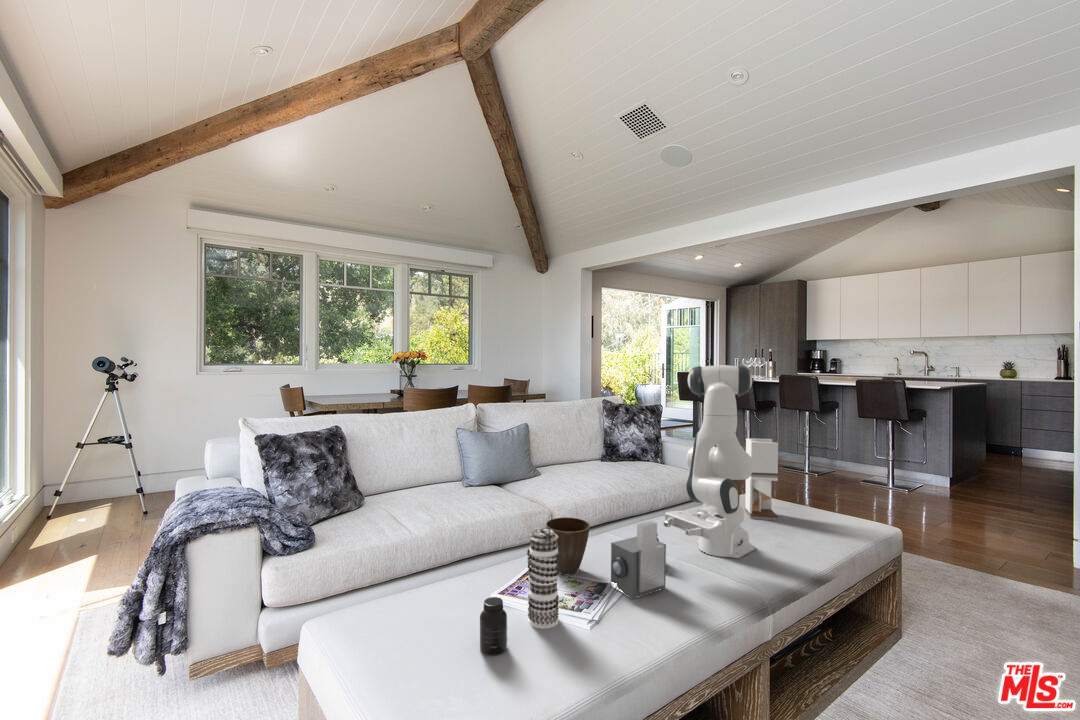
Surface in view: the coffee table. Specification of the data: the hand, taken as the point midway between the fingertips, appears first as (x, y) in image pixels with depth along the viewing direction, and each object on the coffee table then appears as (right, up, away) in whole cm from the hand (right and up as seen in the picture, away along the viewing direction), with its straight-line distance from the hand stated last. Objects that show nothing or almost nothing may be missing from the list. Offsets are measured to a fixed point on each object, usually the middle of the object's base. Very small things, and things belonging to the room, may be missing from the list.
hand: (675, 528), depth 165 cm
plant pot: (-34, -19, +12) cm, 41 cm away
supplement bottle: (-55, -19, -35) cm, 68 cm away
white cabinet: (+59, -19, +75) cm, 97 cm away
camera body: (-12, -19, 0) cm, 22 cm away
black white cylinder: (-43, -19, -22) cm, 51 cm away
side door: (-9, -17, -5) cm, 20 cm away
